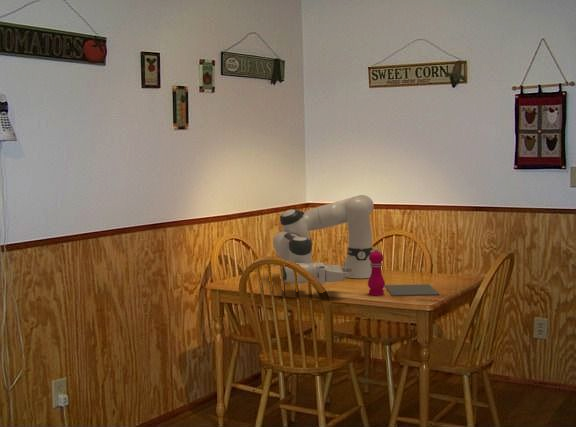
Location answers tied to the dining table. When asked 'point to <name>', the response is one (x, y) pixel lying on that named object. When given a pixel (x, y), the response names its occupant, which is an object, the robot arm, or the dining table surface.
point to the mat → (411, 290)
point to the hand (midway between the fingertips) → (352, 272)
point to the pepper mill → (376, 274)
